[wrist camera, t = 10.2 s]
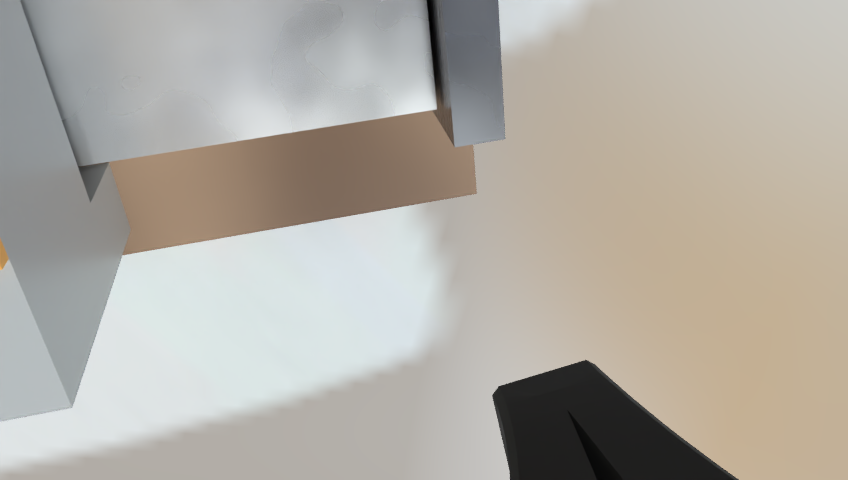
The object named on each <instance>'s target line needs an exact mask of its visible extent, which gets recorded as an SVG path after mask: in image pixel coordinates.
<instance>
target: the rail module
mask: <svg viewBox="0 0 848 480" xmlns="http://www.w3.org/2000/svg"><path fill="white" fill-rule="evenodd" d="M130 230H131V229H130V225H129V222H128V219H127V216H126V213H125V210H124V207H123V204H122V201H121V198H120V195H119V192H118V189H117V186H116V183H115V179H114V176H113V173H112V170H111V167H110V164H109V163H104V164H98V165H91V166H85V167H79V168H78V166H77V163H76V160H75V157H74V154H73V151H72V148H71V146H70V143H69V140H68V137H67V134H66V131H65V128H64V125H63V123H62V120H61V117H60V114H59V111H58V108H57V105H56V103H55V100H54V97H53V94H52V91H51V88H50V85H49V82H48V80H47V77H46V74H45V71H44V68H43V65H42V62H41V59H40V57H39V54H38V51H37V48H36V45H35V42H34V39H33V37H32V34H31V31H30V28H29V25H28V22H27V19H26V16H25V14H24V11H23V8H22V5H21V2H20V0H0V422H1V421H6V420H11V419H16V418H21V417H27V416H32V415H37V414H42V413H47V412H52V411H58V410H63V409H68V408H72V406H73V403H74V400H75V397H76V394H77V391H78V388H79V385H80V382H81V379H82V376H83V373H84V370H85V367H86V364H87V361H88V358H89V355H90V352H91V349H92V346H93V343H94V340H95V337H96V334H97V330H98V327H99V324H100V321H101V318H102V315H103V312H104V309H105V306H106V303H107V300H108V297H109V294H110V291H111V288H112V285H113V282H114V279H115V276H116V273H117V270H118V267H119V264H120V261H121V258H122V255H123V252H124V248H125V245H126V242H127V239H128V236H129V233H130Z"/></svg>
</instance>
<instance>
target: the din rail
mask: <svg viewBox="0 0 848 480" xmlns="http://www.w3.org/2000/svg"><path fill="white" fill-rule="evenodd" d="M20 2H21V5H22V8H23V11H24V14H25V16H26V19H27V22H28V25H29V28H30V31H31V34H32V37H33V39H34V42H35V45H36V48H37V51H38V54H39V57H40V59H41V62H42V65H43V68H44V71H45V74H46V77H47V80H48V82H49V85H50V88H51V91H52V94H53V97H54V100H55V103H56V105H57V108H58V111H59V114H60V117H61V120H62V123H63V125H64V128H65V131H66V134H67V137H68V140H69V143H70V146H71V148H72V151H73V154H74V157H75V160H76V163H77V166H78V167H79V166H86V165H92V164H98V163H105V162H111V161H117V160H123V159H130V158H136V157H142V156H148V155H155V154H161V153H167V152H173V151H180V150H186V149H192V148H198V147H205V146H211V145H217V144H223V143H230V142H236V141H242V140H248V139H255V138H261V137H267V136H273V135H280V134H286V133H292V132H298V131H305V130H311V129H317V128H323V127H330V126H336V125H342V124H348V123H355V122H361V121H367V120H373V119H380V118H386V117H392V116H398V115H405V114H411V113H417V112H424V111H430V110H432V111H433V112H434V114H435V116H436V117H437V119H438V121H439V122H440V124H441V126H442V127H443V129H444V131H445V132H446V134H447V136H448V137H449V139H450V141H451V142H452V144H453V146H454V147H461V146H467V145H473V144H479V143H484V142H491V141H497V140H503V139H505V124H504V106H503V88H502V66H501V47H500V28H499V8H498V0H20Z"/></svg>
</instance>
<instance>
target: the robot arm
mask: <svg viewBox="0 0 848 480" xmlns="http://www.w3.org/2000/svg"><path fill="white" fill-rule="evenodd" d="M493 401H494V405H495V409H496V414H497V418H498V422H499V427H500V431H501V435H502V440H503V444H504V448H505V453H506V456H507V461H508V465H509V470H510V480H738V479H737V478H735V477H734V476H733V475H731V474H730V473H728V472H727V471H726V470H724V469H723V468H721V467H720V466H719V465H717V464H716V463H715V462H713V461H711V459H709V458H708V457H707V456H705V455H704V454H703V453H701V452H700V451H699V450H697V449H696V448H695V447H693V446H692V445H690V444H689V443H688V442H687V441H685V440H684V439H683V438H681V437H680V436H679V435H677V434H676V433H675V432H673V431H672V430H671V429H669V428H668V427H667V426H666V425H665V424H663V423H662V422H661V421H660V420H658V419H657V418H656V417H655V416H654V415H652V414H651V413H650V412H649V411H647V410H646V409H645V408H644V407H642V406H641V405H640V404H639V403H638V402H637V401H635V400H634V399H633V398H632V397H631V396H630V395H628V394H627V393H626V392H625V391H624V390H622V389H621V388H620V387H619V386H618V385H617V384H616V383H615V382H613V381H612V380H611V379H610V378H609V377H608V376H607V375H606V374H604V373H603V372H602V371H601V370H600V369H599V368H598V367H597V366H596V365H595V364H593V363H590V362H589V361H587V360H585V361H581V362H578V363H575V364H571V365H568V366H565V367H561V368H558V369H555V370H552V371H549V372H545V373H542V374H538V375H535V376H532V377H528V378H525V379H522V380H518V381H515V382H512V383H509V384H505V385H502V386H499V387H498V389H497V390H496V391H495V392H494V394H493Z"/></svg>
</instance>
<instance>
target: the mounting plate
mask: <svg viewBox="0 0 848 480" xmlns="http://www.w3.org/2000/svg"><path fill="white" fill-rule="evenodd" d="M105 163H109V164H110V167H111V170H112V173H113V176H114V179H115V183H116V186H117V189H118V192H119V195H120V198H121V201H122V204H123V207H124V210H125V213H126V216H127V219H128V222H129V225H130V229H131V230H130V233H129V236H128V239H127V242H126V245H125V248H124V252H123V255H126V254H132V253H138V252H144V251H149V250H155V249H161V248H167V247H172V246H178V245H184V244H190V243H195V242H201V241H207V240H213V239H219V238H224V237H230V236H236V235H242V234H247V233H253V232H259V231H265V230H270V229H276V228H282V227H288V226H293V225H299V224H305V223H311V222H316V221H322V220H328V219H334V218H340V217H345V216H351V215H357V214H363V213H368V212H374V211H380V210H386V209H391V208H397V207H403V206H409V205H414V204H420V203H426V202H432V201H437V200H443V199H449V198H454V197H460V196H466V195H472V194H476V193H477V192H476V178H475V165H474V151H473V145H467V146H461V147H454V146H453V144H452V142H451V141H450V139H449V137H448V136H447V134H446V132H445V131H444V129H443V127H442V126H441V124H440V122H439V121H438V119H437V117H436V116H435V114H434V112H433V111H432V110H430V111H424V112H417V113H411V114H405V115H398V116H392V117H386V118H380V119H373V120H367V121H361V122H355V123H348V124H342V125H336V126H330V127H323V128H317V129H311V130H305V131H298V132H292V133H286V134H280V135H273V136H267V137H261V138H255V139H248V140H242V141H236V142H230V143H223V144H217V145H211V146H205V147H198V148H192V149H186V150H180V151H173V152H167V153H161V154H155V155H148V156H142V157H136V158H130V159H123V160H117V161H111V162H105ZM98 164H104V163H98ZM98 164H92V165H98ZM86 166H91V165H86ZM79 167H85V166H79ZM79 167H78V168H79Z"/></svg>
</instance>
